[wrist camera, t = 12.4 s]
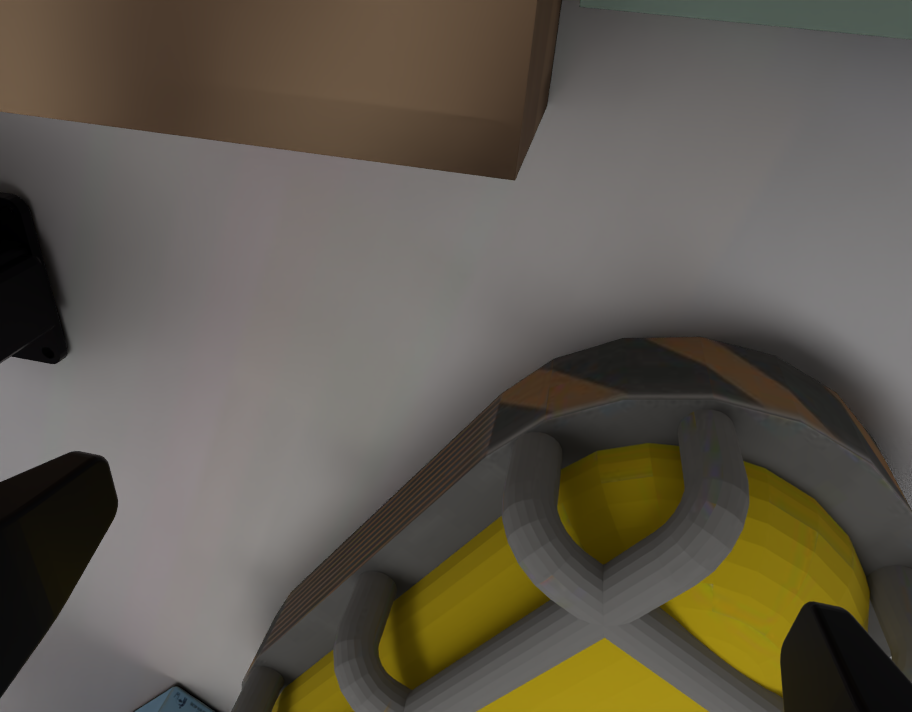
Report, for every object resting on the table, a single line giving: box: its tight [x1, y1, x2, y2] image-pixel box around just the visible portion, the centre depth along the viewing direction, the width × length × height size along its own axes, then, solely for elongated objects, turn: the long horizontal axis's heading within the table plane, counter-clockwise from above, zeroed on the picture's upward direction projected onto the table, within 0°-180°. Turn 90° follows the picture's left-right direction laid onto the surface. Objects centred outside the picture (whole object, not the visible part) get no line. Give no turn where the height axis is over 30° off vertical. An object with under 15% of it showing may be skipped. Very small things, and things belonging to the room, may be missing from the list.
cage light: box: [231, 337, 912, 712], centre depth 25 cm, size 15×8×30 cm
